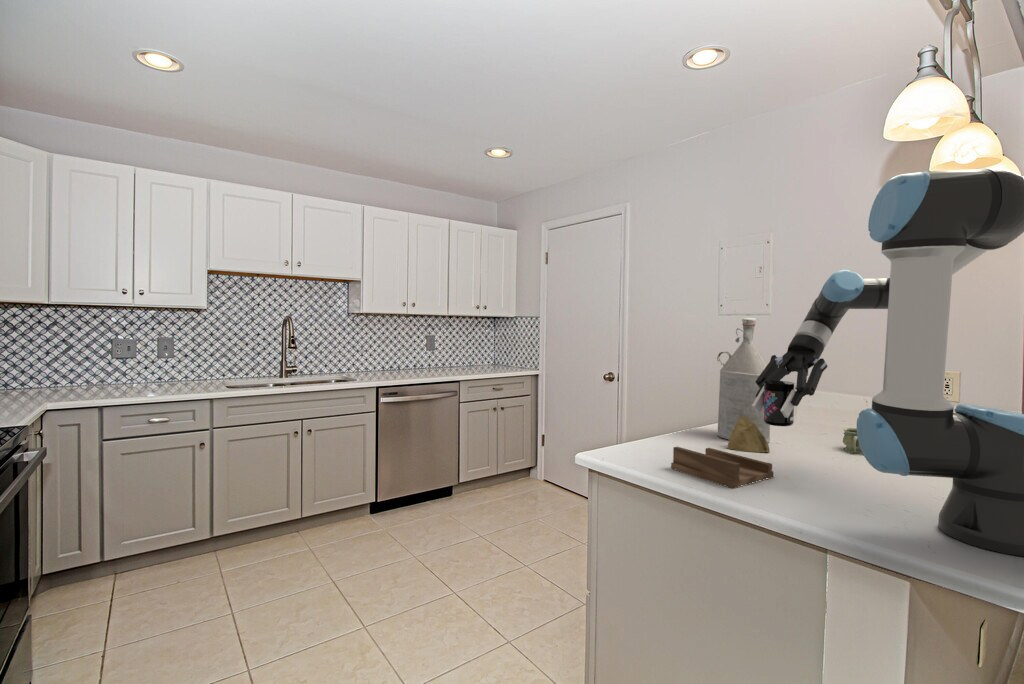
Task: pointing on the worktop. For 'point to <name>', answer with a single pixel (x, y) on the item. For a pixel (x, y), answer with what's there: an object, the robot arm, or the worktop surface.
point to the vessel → (851, 441)
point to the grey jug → (741, 385)
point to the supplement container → (777, 402)
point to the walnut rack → (721, 466)
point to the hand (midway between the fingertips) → (769, 411)
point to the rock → (747, 437)
